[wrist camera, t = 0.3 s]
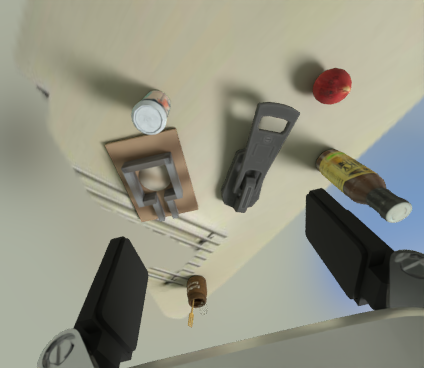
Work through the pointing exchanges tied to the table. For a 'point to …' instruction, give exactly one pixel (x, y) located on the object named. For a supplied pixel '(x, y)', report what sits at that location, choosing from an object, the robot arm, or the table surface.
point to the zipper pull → (256, 157)
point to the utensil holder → (196, 294)
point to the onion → (332, 86)
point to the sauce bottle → (362, 185)
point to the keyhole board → (154, 174)
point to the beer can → (151, 113)
